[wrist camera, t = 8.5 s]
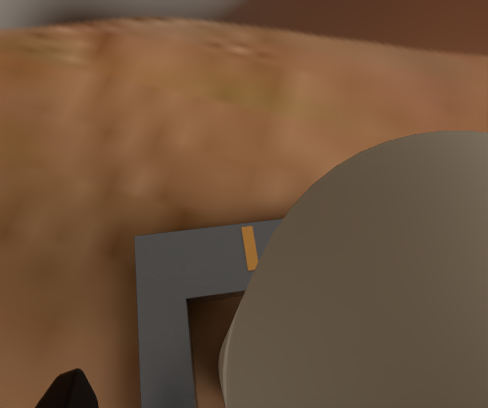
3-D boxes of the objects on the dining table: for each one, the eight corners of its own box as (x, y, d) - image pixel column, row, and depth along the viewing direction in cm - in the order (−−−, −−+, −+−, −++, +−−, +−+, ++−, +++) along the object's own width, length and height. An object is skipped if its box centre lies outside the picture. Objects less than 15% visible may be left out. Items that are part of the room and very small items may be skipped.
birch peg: (290, 434, 15) (978, 1120, 2) (202, 390, 16) (102, 623, 2) (321, 339, 17) (808, 246, 3) (240, 302, 17) (343, 66, 3)
